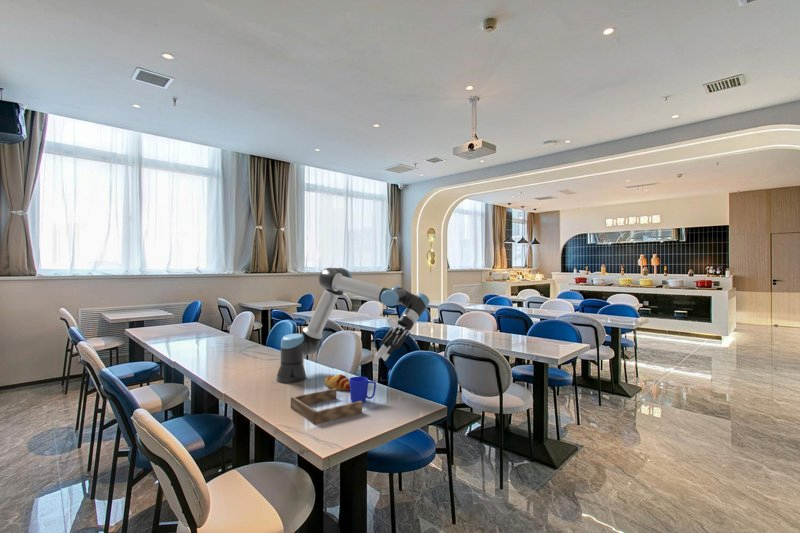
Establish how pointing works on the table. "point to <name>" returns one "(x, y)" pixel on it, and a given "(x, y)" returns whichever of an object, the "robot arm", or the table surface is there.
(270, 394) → the table surface
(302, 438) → the table surface
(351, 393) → the mug
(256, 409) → the table surface
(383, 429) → the table surface
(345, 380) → the croissant
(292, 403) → the box
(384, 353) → the robot arm
